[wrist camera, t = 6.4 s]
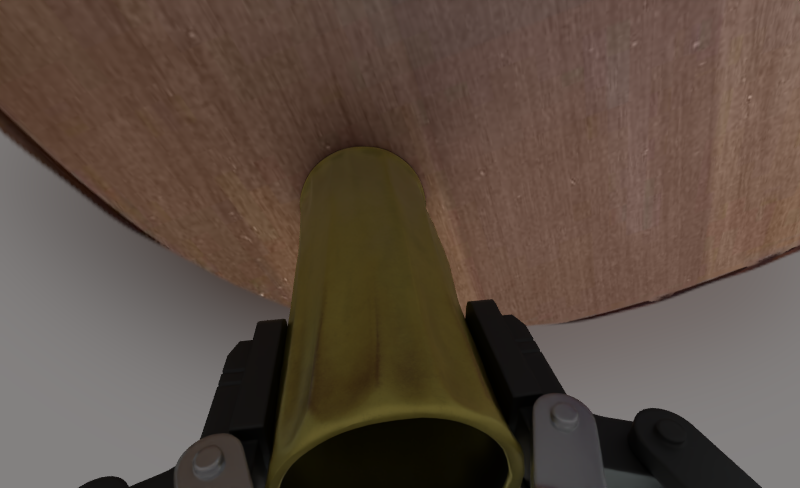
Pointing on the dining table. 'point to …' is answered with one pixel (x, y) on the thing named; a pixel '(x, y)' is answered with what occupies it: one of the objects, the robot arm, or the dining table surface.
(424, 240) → the vase
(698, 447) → the robot arm
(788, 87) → the dining table surface
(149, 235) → the dining table surface
